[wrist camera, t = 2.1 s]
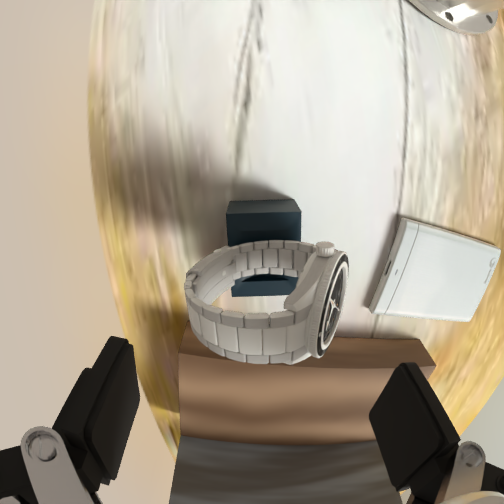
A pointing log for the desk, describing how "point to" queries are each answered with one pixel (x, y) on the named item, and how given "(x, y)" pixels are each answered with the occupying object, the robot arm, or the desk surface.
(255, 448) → the display stand
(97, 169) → the desk surface
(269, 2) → the desk surface
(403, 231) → the hard drive
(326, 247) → the watch
